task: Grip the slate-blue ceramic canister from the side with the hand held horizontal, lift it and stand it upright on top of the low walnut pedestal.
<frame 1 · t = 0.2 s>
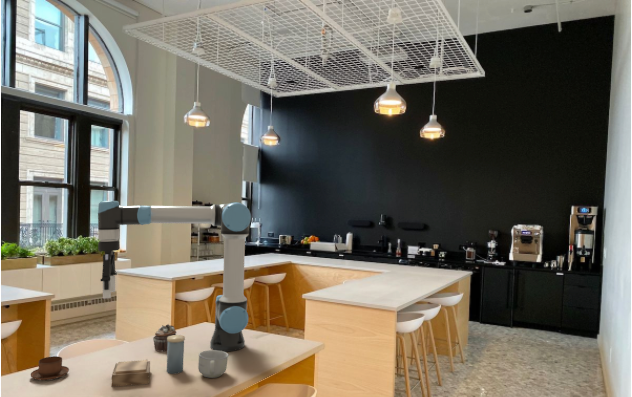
hand: (109, 295, 179), 27 cm above the table, tool pointing down, fingers open, 13 cm apart
canister: (174, 370, 175), on the table
pedestal: (131, 378, 165), on the table
teacup: (211, 377, 170), on the table
cup and saucer: (49, 377, 165), on the table
cupcake: (164, 348, 201), on the table
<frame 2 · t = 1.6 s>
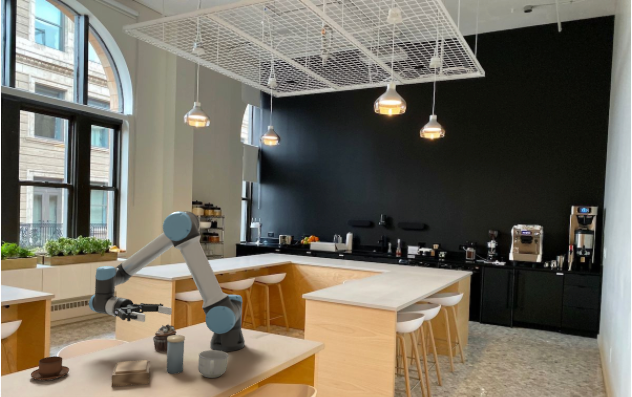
hand: (158, 314, 180), 20 cm above the table, tool horizontal, fingers open, 13 cm apart
nothing on the table moved.
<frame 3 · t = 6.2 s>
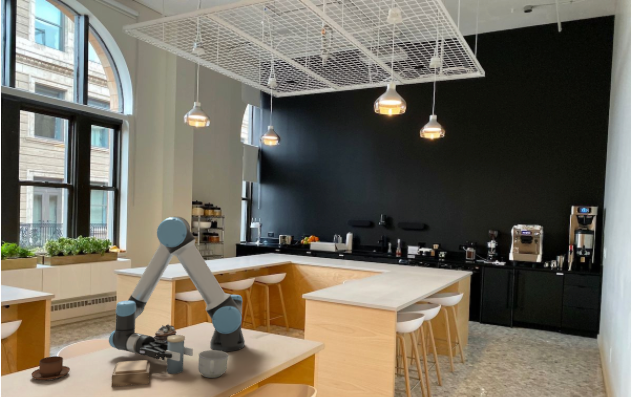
hand: (185, 354, 173), 7 cm above the table, tool horizontal, fingers closed on canister, 6 cm apart
canister: (174, 370, 175), on the table, touching gripper
everything else where it was.
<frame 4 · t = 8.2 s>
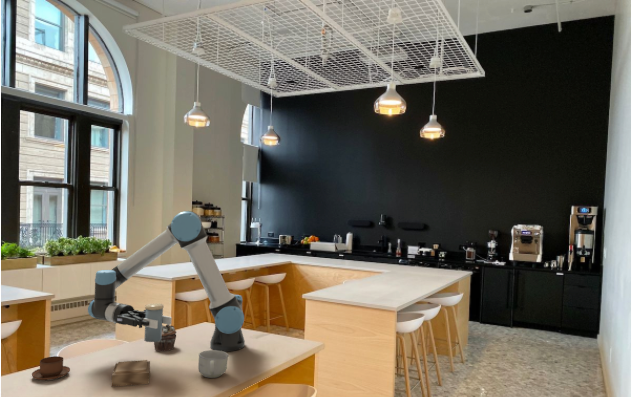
hand: (163, 322, 168), 20 cm above the table, tool horizontal, fingers closed on canister, 6 cm apart
canister: (152, 339, 171), point 13 cm above the table, touching gripper
everything else where it was.
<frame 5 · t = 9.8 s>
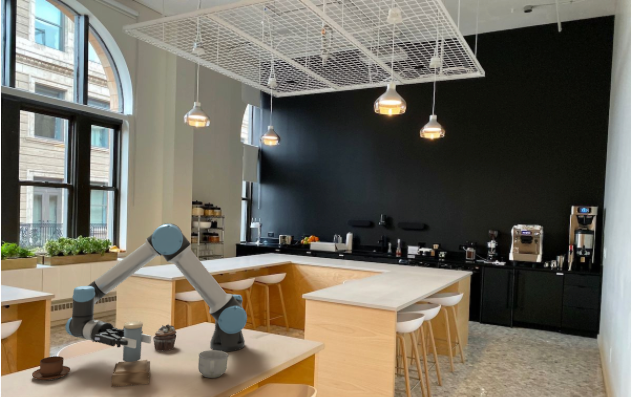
hand: (142, 341, 163), 14 cm above the table, tool horizontal, fingers closed on canister, 6 cm apart
canister: (131, 358, 166), point 7 cm above the table, touching gripper
everything else where it was.
when the fingers open (13 cm above the table, at t = 10.4 s): canister drops 1 cm, resting on pedestal.
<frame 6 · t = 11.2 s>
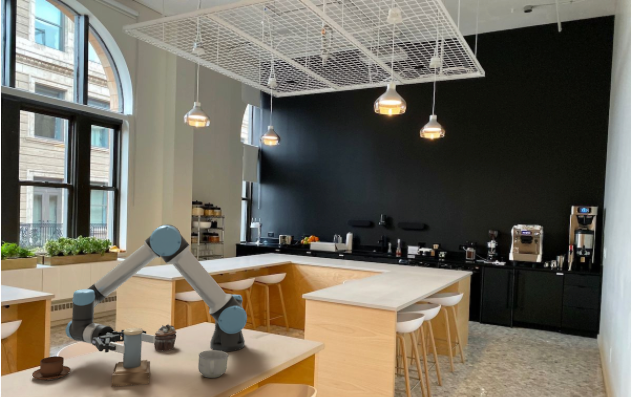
hand: (139, 344, 164), 13 cm above the table, tool horizontal, fingers open, 13 cm apart
canister: (131, 365, 166), point 5 cm above the table, touching pedestal
everything else where it was.
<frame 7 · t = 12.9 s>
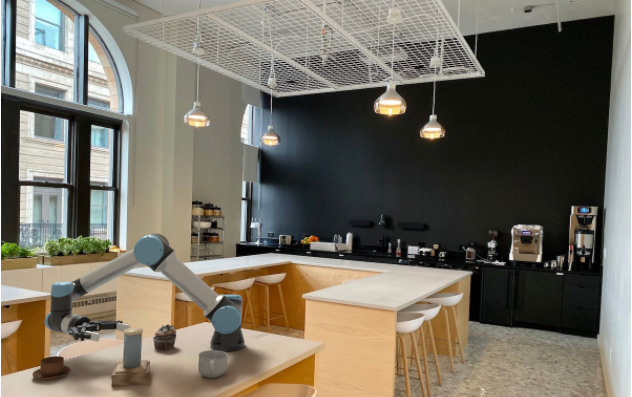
hand: (114, 333, 170), 15 cm above the table, tool horizontal, fingers open, 13 cm apart
nothing on the table moved.
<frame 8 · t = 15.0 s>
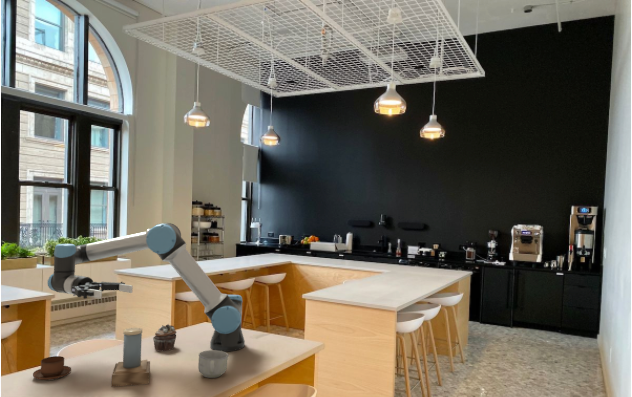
hand: (116, 291, 171), 30 cm above the table, tool horizontal, fingers open, 13 cm apart
nothing on the table moved.
at the end: canister inside the target area on the pedestal (0.1 cm from its centre), point 4.8 cm above the pedestal's base; canister tilted 1°; the gripper is holding nothing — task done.
